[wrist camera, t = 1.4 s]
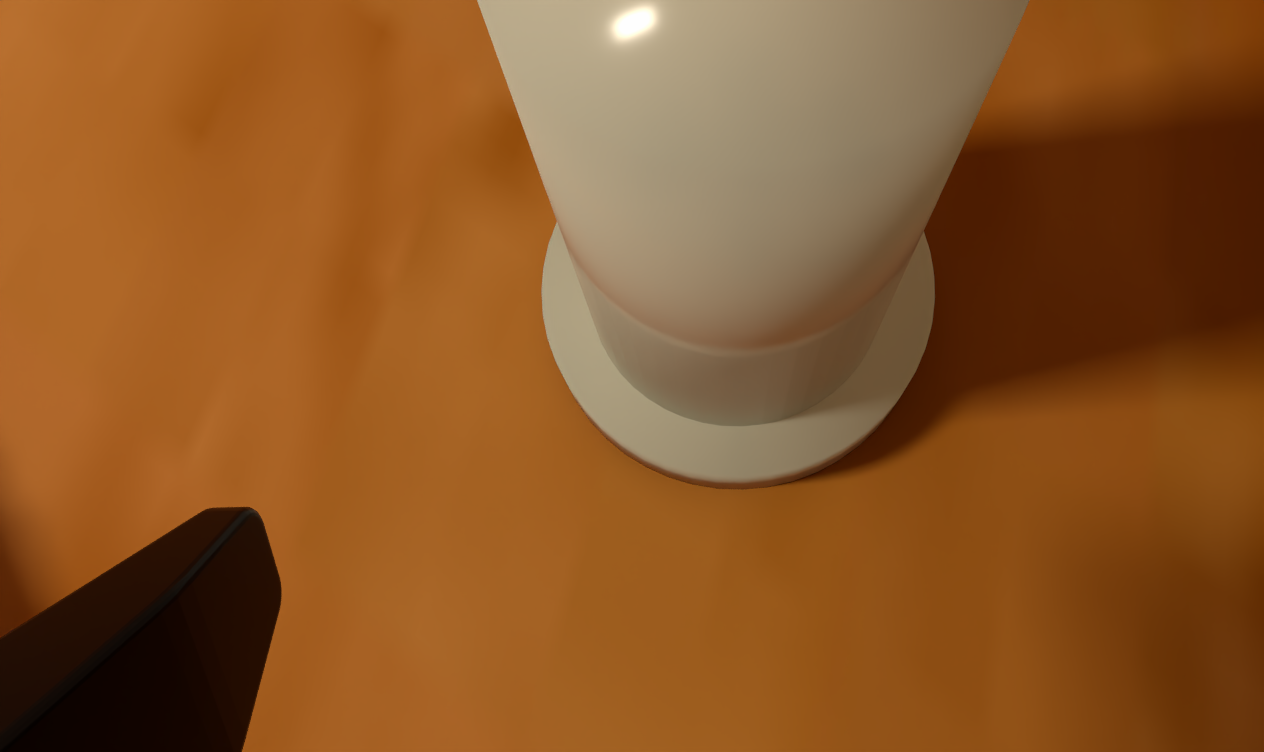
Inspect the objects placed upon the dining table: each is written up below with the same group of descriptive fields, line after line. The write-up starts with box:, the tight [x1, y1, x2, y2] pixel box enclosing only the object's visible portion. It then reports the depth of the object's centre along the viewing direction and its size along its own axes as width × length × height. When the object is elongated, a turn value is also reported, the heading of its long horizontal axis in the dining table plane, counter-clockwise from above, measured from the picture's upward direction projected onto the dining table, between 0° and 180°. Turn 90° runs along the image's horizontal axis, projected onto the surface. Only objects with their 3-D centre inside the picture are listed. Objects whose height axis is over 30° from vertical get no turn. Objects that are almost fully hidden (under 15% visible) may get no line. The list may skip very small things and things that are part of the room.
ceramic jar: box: [477, 0, 1029, 489], centre depth 17 cm, size 8×8×12 cm
